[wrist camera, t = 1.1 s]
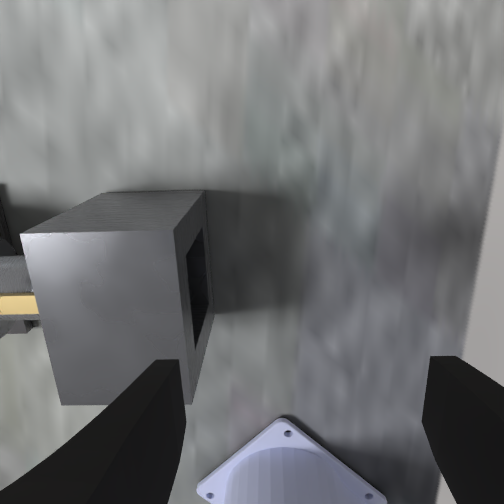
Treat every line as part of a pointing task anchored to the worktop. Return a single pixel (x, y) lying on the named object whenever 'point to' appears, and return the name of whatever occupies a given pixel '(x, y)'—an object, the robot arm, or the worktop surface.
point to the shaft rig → (14, 287)
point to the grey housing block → (122, 290)
